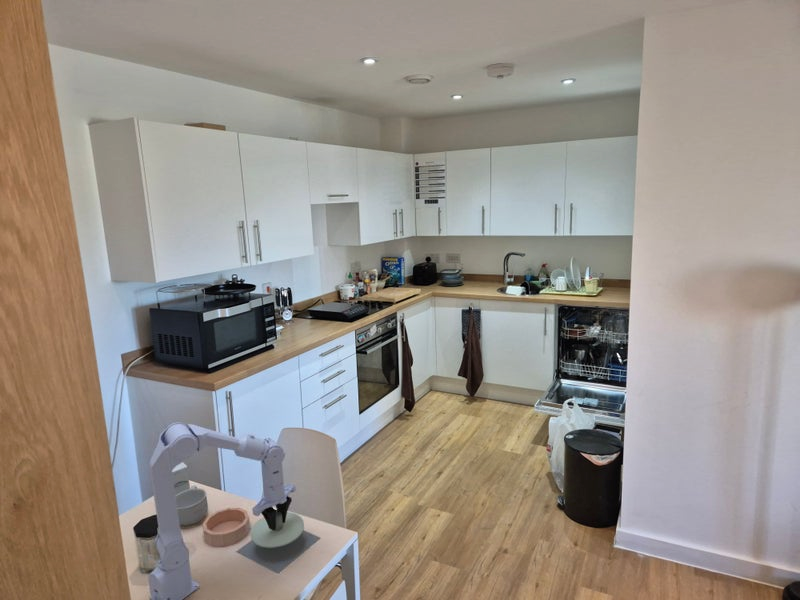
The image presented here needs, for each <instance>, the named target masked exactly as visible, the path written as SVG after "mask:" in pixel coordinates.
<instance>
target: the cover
mask: <svg viewBox="0 0 800 600" xmlns="http://www.w3.org/2000/svg"><path fill="white" fill-rule="evenodd" d="M304 528H305V524H304V519H303V518H302V517H301V516H300V515H298V514H296V513H294V512H289V511H287V515H286V520H285V523H283V521H282V513H280V512H277V513H276V529H275V530H271V529H269V527H268V524H267V522H266V520H265V518H264V516H263V517H261V518H260V519H258V520H257V521H256V522H255V523H254V524H253V525H252V527H251V528H250V531H249V532H250V540H252V541H253V542H254V543H255V544H256V545H258V546H261V547H265V548H275V547H280V546H284V545H287V544H289V543H291V542H293V541H294V540H296V539H297V538H298V537H299V536H300V535H301V534H302V532H303V530H304ZM304 531H305V530H304Z"/></svg>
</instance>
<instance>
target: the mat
mask: <svg viewBox="0 0 800 600" xmlns="http://www.w3.org/2000/svg"><path fill="white" fill-rule="evenodd" d="M319 540H321V537H320V536H318V535H316V534H313V533H311V532H308V531H306V530H303V532H302V534H301V535H300V536H299V537H298V538H297V539H296V540H294V541H293V542H291V543H289V544H287V545H284V546H280V547H275V548H265V547H261V546H258V545H256V544H255V543H254V542H253V541H252V539H250V541H249V542H247V543H246V544H245V545H243V546H241V547H240V548H239V549H237V550H235V551H236V552H235V553H238V554H239V555H242V556H243V557H244V558H247V559H249V560H251V561H252V562H255V563H256V564H259V565H260V566H263V567H265V568H266V569H268V570H270V571H272V572H274V573H276V574H280V573H281V572H282V571H283V570H284V569H286V568H287V567H288V566H289V565H290V564H291V563H293V562H294V561H295V560H297V558H299V557H300V556H301V555H303V554H304V553H305V552H307V551H308V549H310V548H311V547H312V546H313V545H315V544H316V543H317V542H318V541H319Z"/></svg>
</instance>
